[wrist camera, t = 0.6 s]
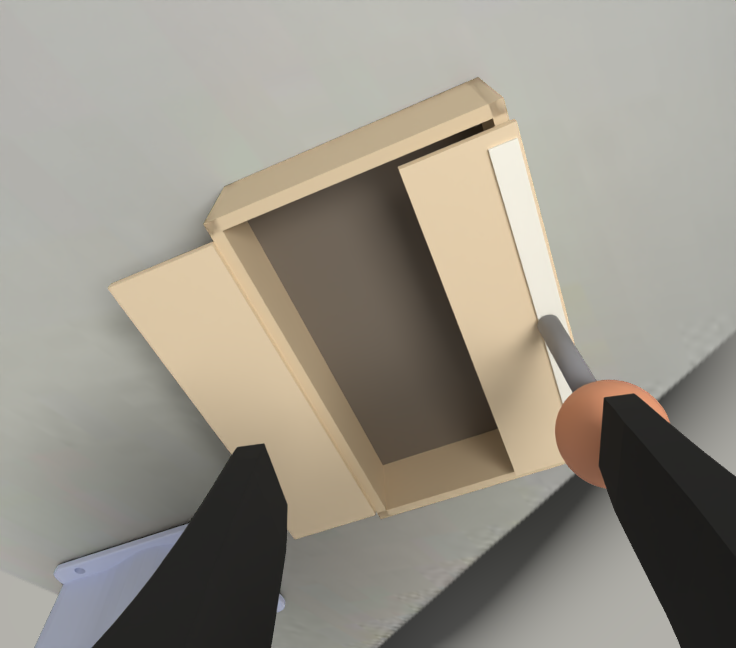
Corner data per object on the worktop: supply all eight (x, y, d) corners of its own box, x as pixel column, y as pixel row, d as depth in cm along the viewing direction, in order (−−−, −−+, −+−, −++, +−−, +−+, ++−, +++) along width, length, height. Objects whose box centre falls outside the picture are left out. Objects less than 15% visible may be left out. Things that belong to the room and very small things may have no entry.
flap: (514, 469, 22) (573, 646, 16) (398, 166, 16) (428, 280, 10) (616, 439, 21) (716, 612, 16) (537, 108, 15) (657, 194, 9)
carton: (306, 481, 27) (301, 548, 24) (133, 225, 20) (94, 271, 17) (569, 397, 25) (600, 458, 22) (477, 77, 18) (505, 99, 15)
